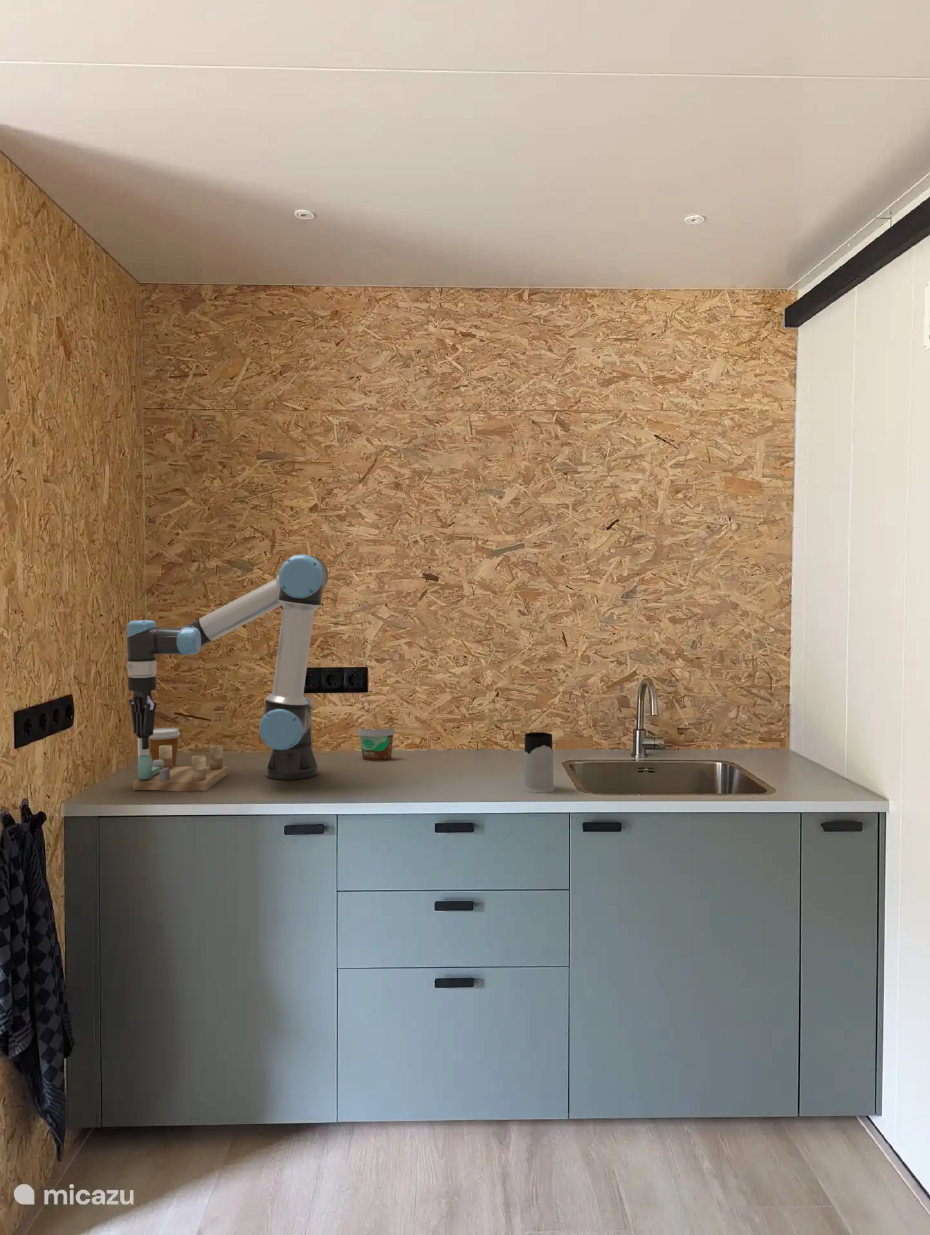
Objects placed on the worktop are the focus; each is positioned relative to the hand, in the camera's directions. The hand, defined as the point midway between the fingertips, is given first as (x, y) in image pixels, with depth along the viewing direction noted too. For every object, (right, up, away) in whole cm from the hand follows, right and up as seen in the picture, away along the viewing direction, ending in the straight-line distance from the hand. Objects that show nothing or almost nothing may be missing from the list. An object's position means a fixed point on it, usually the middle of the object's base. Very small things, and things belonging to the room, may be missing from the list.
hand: (143, 760), depth 254 cm
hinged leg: (+1, -4, +2) cm, 5 cm away
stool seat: (+9, -7, +5) cm, 13 cm away
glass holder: (+109, -7, -3) cm, 109 cm away
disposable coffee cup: (-2, -7, +24) cm, 25 cm away
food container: (+61, -6, +36) cm, 71 cm away
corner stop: (+7, -5, -2) cm, 9 cm away
